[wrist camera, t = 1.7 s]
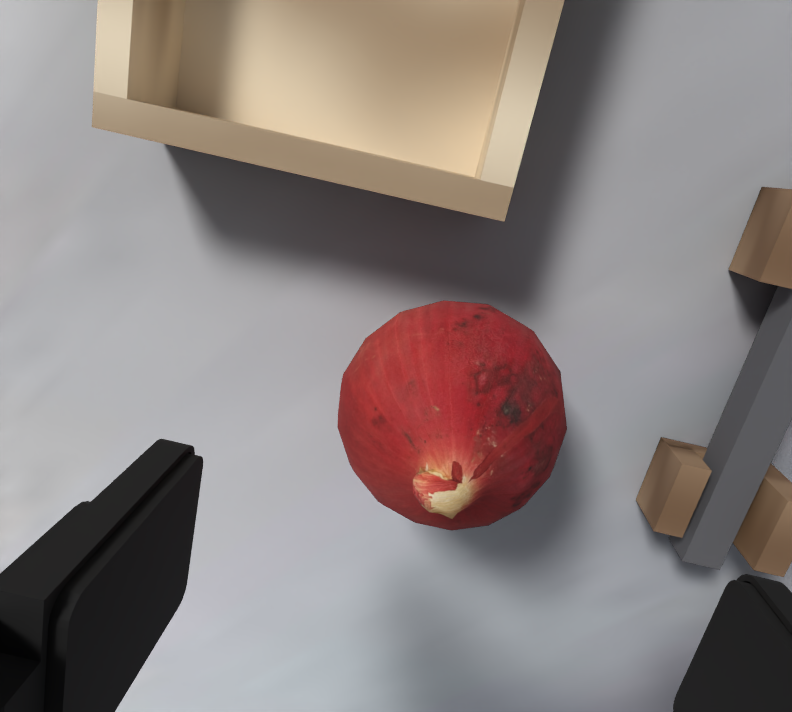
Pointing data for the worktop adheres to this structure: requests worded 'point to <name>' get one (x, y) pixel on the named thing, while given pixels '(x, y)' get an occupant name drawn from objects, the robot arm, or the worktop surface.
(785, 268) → the clip
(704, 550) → the gray square bar
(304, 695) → the worktop surface
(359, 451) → the onion
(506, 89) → the wooden tray
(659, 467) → the clip
